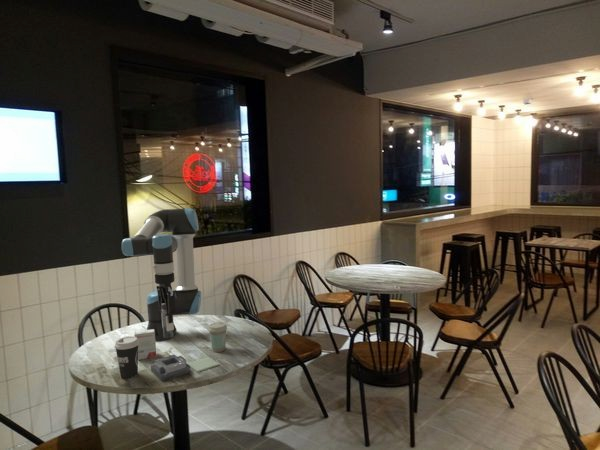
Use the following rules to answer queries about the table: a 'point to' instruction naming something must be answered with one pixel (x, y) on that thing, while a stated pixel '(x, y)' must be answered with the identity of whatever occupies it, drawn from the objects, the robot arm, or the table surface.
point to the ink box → (146, 344)
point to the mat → (202, 364)
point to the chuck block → (170, 367)
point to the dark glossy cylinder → (165, 333)
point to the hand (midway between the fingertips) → (168, 328)
